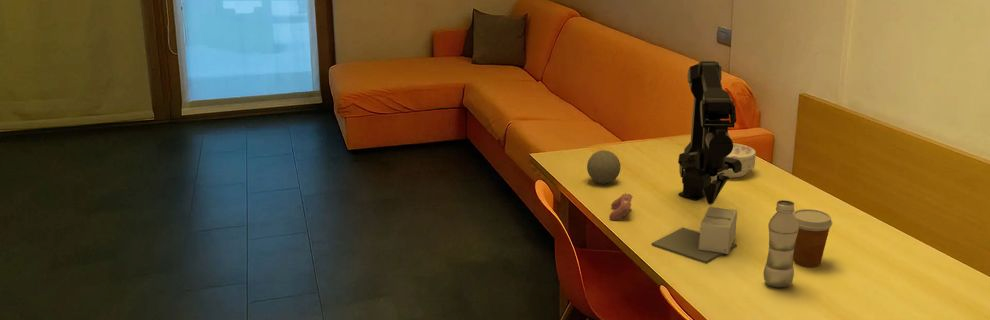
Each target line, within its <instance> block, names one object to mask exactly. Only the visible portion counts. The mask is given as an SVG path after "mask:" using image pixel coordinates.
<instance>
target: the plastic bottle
mask: <svg viewBox="0 0 990 320" xmlns="http://www.w3.org/2000/svg"><path fill="white" fill-rule="evenodd" d="M775 211H776V212H775V213H774V214H773V216H772V217H770V220H769V221H768V238H769V239H768V253H767V258H766V262H765V265H764V269H763V280H764V282H765V283H766V284H767V285H769V286H771V287H774V288H787V287H789V286H790V285H791V284H792V283H793V281H794V277H795V272H794V271H795V270H794V269H795V268H794V261H793V253H794V247H795V241H796V237H797V234H798V230H799V223H798V221H797V219H796V217H795V216H794V214H793V212H794V211H795V202H793V201H791V200H785V199H780V200H778V201H777V202H776V207H775Z"/></svg>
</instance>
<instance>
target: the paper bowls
mask: <svg viewBox="0 0 990 320" xmlns="http://www.w3.org/2000/svg"><path fill="white" fill-rule="evenodd" d="M756 154H757V153H756V150H755V148H753V147H751V146H748V145H745V144H741V143H734V142H733V150H732V152H731V153H730V154H729V155H728V156H726V157H729V158H733V159H737V160H739V161H740V162H741V164H742V170H741V171H740V172H738V173H734V172H733V169H728V170H726V171H724V173H725V176H727V177H729V179H730V178H731V179H732V178H733V179H734V178H741V177H743V176H745V175H746V174H747V172H749V171H751V170H753V169H754V168H755V165H756Z"/></svg>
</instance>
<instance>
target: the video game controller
mask: <svg viewBox="0 0 990 320" xmlns="http://www.w3.org/2000/svg"><path fill="white" fill-rule="evenodd" d="M632 200H633V195H632V194H631V193H627V192H624V193H623V194H621V195H620V197H618V198H617V199H615V200H614V201H612V203H611V204H610V206H611V208H612V209H614V210H613V211H612V212H610V213H609V216H608V217H609V220H610V221H617V220H620V219H621V218H624V217H625V216H626V215H627V214H628V212H629V213H630V212H632V209H633V208H631V207H632Z"/></svg>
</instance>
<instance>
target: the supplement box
mask: <svg viewBox="0 0 990 320" xmlns="http://www.w3.org/2000/svg"><path fill="white" fill-rule="evenodd" d="M706 210H707V211H705V214H704V216H703V219H702V220H701V222H700V227H699V228H700V229H699V233H700V238H699V250H703V251H711V252H718V253H724V254H726V255H729V254H730V251H731V250H730V248H731V245H732V243H734V240H735V236H736V230H737V221H738V209H730V208H723V207H715V206H708V208H707V209H706Z"/></svg>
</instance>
